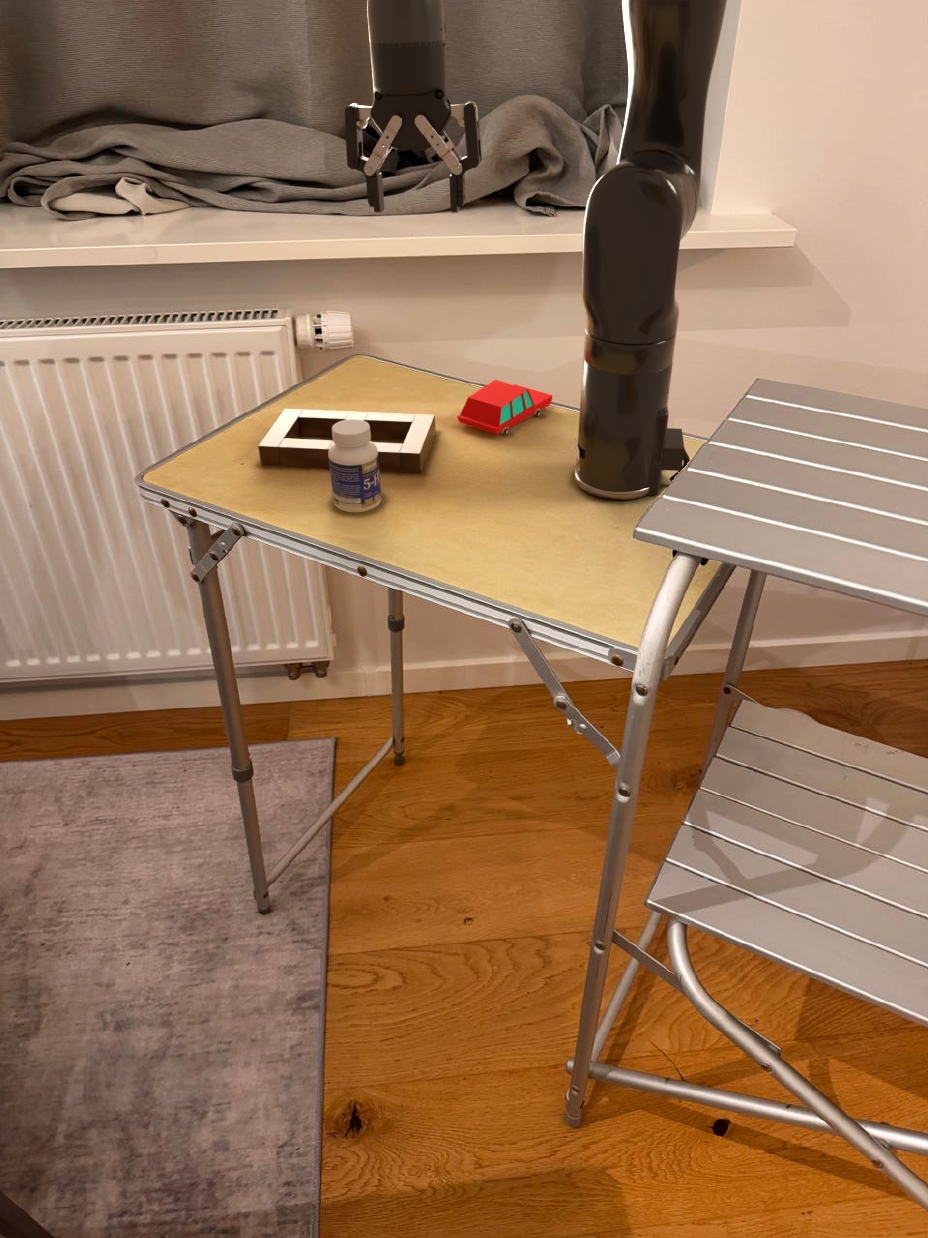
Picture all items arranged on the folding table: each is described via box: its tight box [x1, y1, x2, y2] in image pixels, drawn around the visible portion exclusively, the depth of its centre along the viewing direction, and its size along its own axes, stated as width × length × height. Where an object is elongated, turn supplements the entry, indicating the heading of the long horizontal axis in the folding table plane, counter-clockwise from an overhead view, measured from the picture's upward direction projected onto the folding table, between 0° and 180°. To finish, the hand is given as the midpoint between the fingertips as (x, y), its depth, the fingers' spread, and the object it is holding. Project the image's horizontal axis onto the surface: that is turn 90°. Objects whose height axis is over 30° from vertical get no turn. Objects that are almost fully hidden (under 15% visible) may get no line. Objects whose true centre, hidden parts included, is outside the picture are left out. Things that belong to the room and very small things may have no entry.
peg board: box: [257, 408, 437, 474], centre depth 109 cm, size 19×11×2 cm, turn 82°
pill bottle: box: [328, 419, 382, 513], centre depth 97 cm, size 5×5×9 cm
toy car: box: [456, 379, 553, 436], centre depth 115 cm, size 6×12×4 cm, turn 141°
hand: (417, 211), depth 99 cm, fingers open, 8 cm apart
